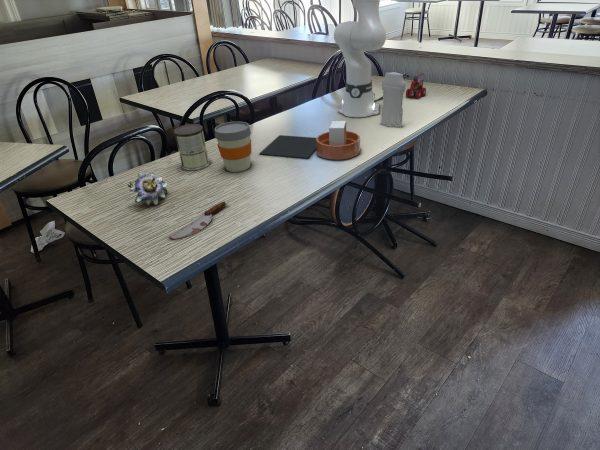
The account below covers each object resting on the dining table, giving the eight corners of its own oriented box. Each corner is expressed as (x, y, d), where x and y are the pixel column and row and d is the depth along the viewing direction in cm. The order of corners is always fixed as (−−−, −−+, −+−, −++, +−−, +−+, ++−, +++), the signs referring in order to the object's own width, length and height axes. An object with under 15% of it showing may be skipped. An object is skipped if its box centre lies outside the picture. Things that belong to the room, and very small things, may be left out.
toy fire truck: (403, 98, 212) (404, 77, 206) (415, 92, 220) (416, 72, 214) (415, 100, 208) (417, 78, 202) (427, 94, 216) (429, 73, 210)
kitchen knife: (179, 241, 113) (167, 234, 115) (180, 246, 114) (168, 238, 116) (234, 205, 126) (222, 199, 128) (234, 209, 127) (222, 203, 129)
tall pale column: (378, 124, 182) (379, 72, 170) (382, 121, 184) (385, 69, 173) (400, 128, 176) (403, 74, 164) (404, 125, 178) (408, 72, 167)
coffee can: (176, 165, 158) (168, 129, 150) (200, 157, 164) (192, 122, 156) (191, 173, 151) (183, 135, 144) (215, 163, 157) (208, 127, 150)
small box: (344, 155, 155) (344, 127, 149) (329, 155, 156) (328, 127, 151) (346, 147, 162) (346, 120, 156) (332, 147, 163) (331, 120, 157)
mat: (279, 136, 177) (279, 135, 177) (324, 139, 171) (324, 138, 170) (259, 154, 162) (259, 153, 161) (308, 159, 155) (307, 157, 155)
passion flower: (160, 218, 136) (137, 203, 125) (138, 205, 140) (114, 189, 129) (180, 190, 138) (160, 172, 127) (157, 178, 142) (136, 160, 132)
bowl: (324, 142, 168) (324, 129, 165) (364, 145, 163) (364, 131, 160) (311, 158, 156) (310, 144, 153) (353, 162, 150) (353, 147, 147)
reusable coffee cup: (217, 164, 157) (210, 125, 149) (249, 157, 160) (244, 119, 152) (225, 177, 147) (218, 136, 139) (259, 169, 150) (254, 128, 142)
